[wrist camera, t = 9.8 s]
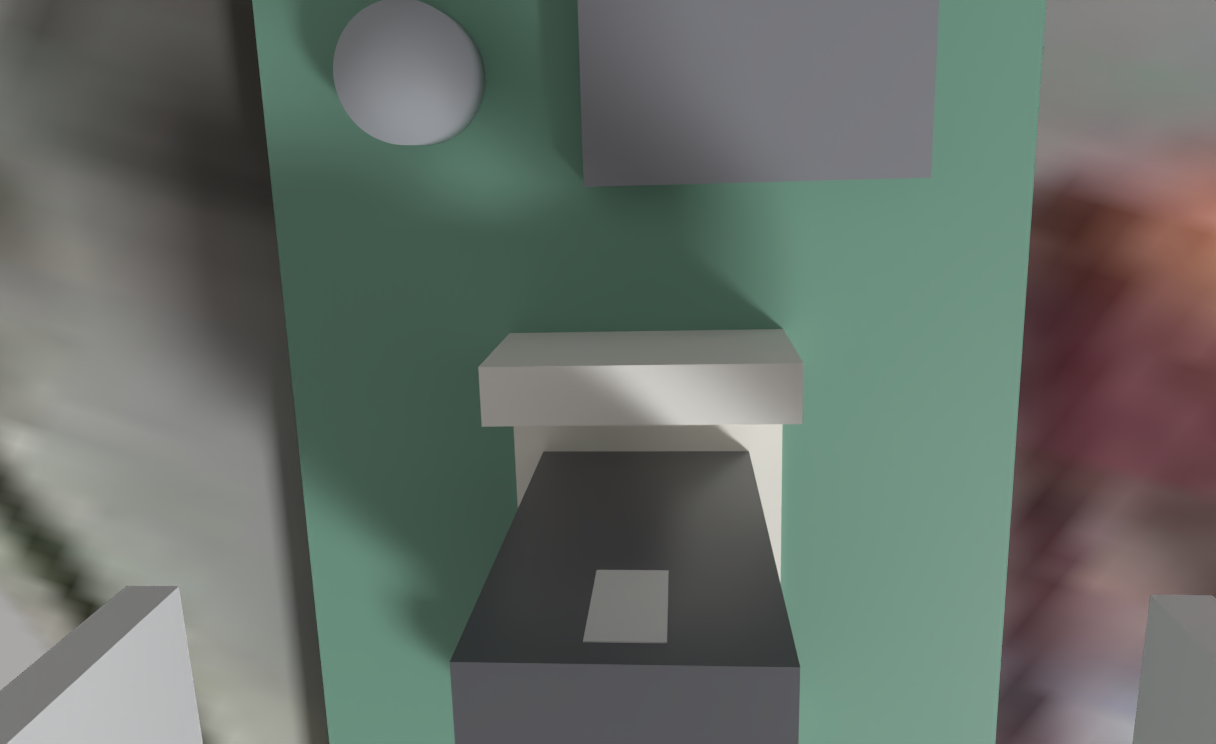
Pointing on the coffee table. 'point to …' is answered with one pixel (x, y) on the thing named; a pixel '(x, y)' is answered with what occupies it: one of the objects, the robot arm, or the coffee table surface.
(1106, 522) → the coffee table surface
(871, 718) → the board
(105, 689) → the robot arm
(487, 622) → the plug
